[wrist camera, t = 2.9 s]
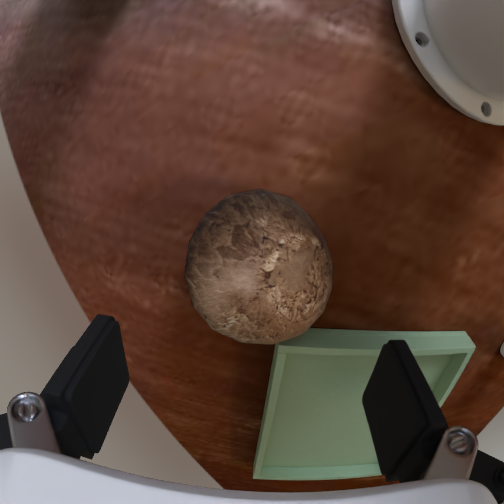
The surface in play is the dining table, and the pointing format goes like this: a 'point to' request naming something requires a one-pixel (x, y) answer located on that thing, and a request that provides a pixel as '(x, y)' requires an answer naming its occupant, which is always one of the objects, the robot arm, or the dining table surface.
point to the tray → (339, 399)
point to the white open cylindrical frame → (502, 349)
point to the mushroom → (258, 268)
